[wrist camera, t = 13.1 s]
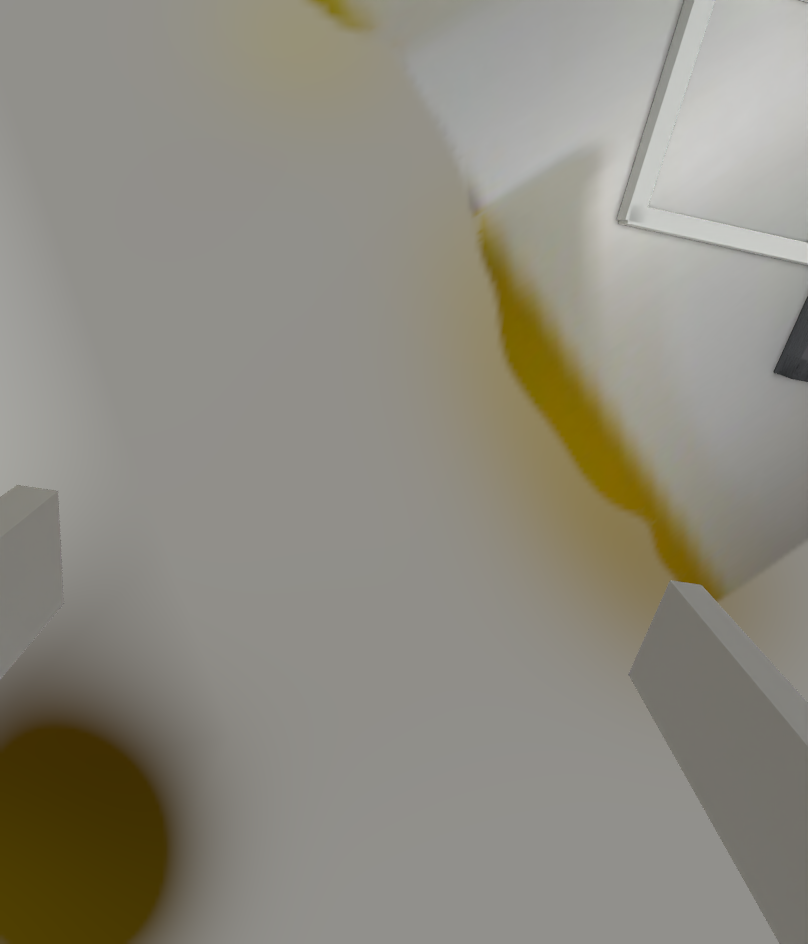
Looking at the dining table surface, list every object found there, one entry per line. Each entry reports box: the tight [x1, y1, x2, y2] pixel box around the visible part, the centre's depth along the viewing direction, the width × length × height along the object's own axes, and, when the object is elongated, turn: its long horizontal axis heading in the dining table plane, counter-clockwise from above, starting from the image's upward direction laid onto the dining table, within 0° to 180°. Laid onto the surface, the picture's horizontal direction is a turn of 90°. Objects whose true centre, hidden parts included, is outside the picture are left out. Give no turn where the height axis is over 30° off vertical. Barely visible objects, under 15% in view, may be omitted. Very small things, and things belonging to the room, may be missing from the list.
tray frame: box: [617, 0, 808, 266], centre depth 35 cm, size 15×15×2 cm
